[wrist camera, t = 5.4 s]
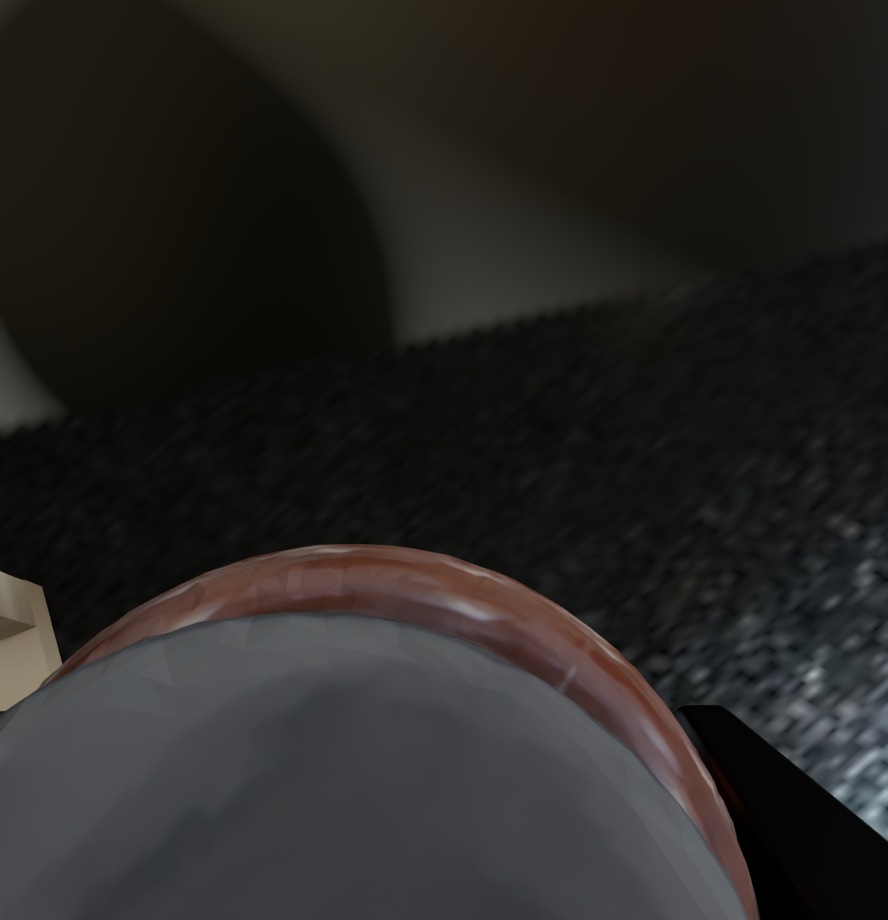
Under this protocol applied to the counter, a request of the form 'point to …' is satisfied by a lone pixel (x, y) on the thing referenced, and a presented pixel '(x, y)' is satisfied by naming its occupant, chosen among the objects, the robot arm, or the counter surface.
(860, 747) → the counter surface
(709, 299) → the counter surface
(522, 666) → the supplement bottle
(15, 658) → the cradle
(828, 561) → the counter surface
